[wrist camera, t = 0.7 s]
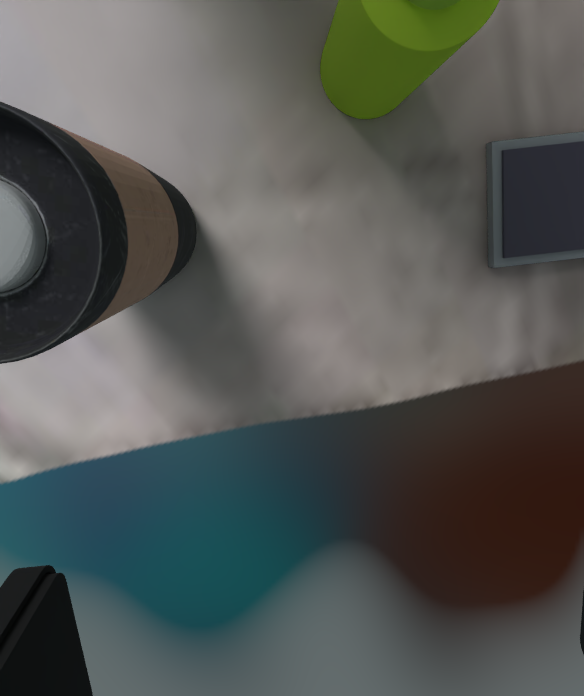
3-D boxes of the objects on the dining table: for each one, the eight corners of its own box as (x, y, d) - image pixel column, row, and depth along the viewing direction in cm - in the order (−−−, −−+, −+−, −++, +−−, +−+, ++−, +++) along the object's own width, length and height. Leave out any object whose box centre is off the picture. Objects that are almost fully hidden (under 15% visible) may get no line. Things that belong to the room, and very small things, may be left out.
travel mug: (224, 245, 34) (164, 271, 14) (133, 310, 35) (-40, 418, 15) (152, 144, 32) (-25, 20, 13) (58, 214, 33) (-243, 199, 14)
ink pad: (486, 143, 33) (494, 140, 32) (636, 127, 33) (649, 123, 32) (488, 266, 35) (495, 268, 34) (630, 250, 35) (642, 251, 34)
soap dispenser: (410, 136, 33) (616, 7, 13) (308, 102, 32) (369, -87, 13) (441, 40, 32) (719, -258, 12) (336, 2, 31) (452, -380, 11)
